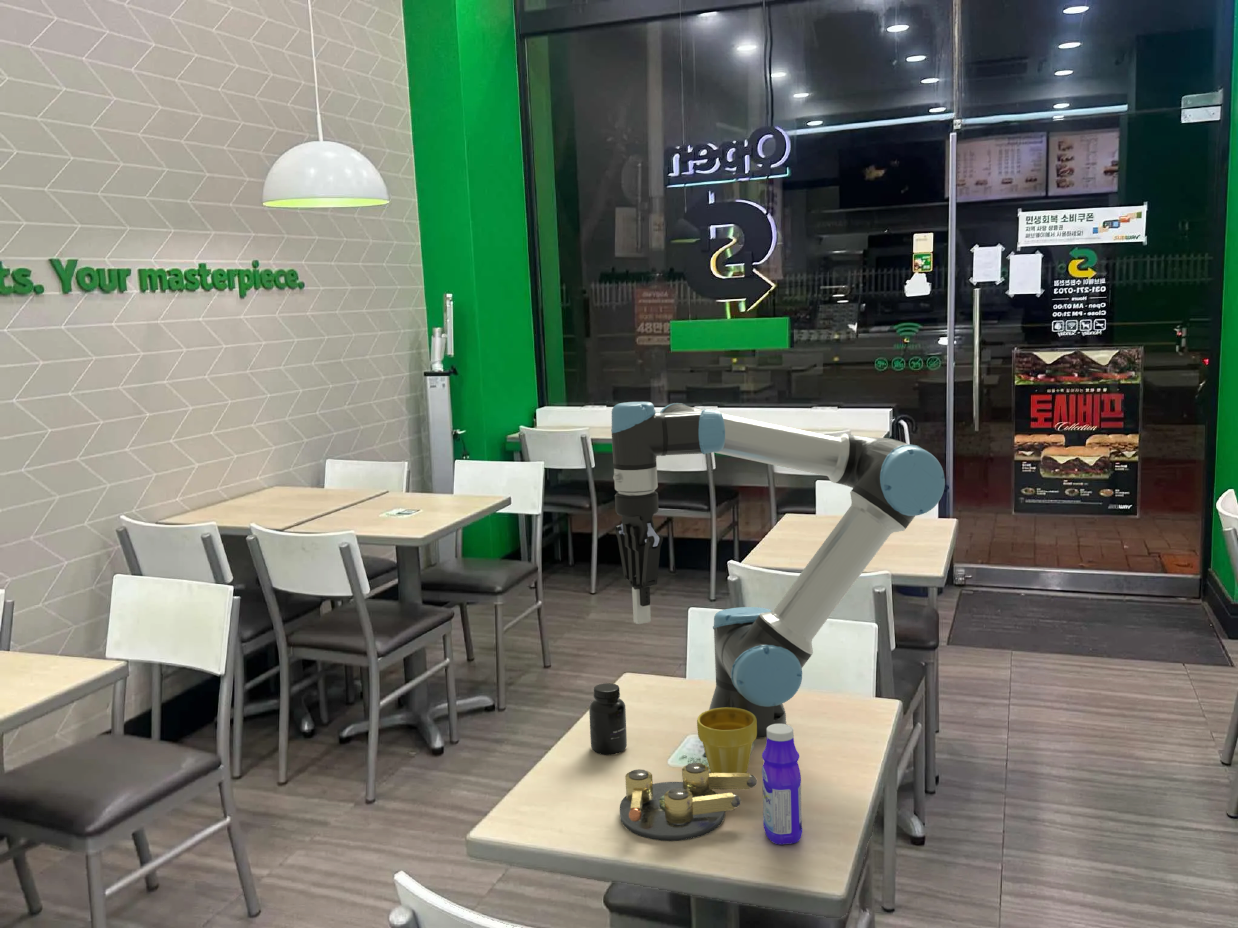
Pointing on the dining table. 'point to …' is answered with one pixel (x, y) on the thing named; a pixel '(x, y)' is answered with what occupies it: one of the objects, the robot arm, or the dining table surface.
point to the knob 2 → (695, 804)
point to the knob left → (713, 779)
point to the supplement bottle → (607, 720)
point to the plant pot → (727, 738)
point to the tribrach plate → (659, 827)
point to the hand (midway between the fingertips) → (642, 621)
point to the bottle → (781, 786)
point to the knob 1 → (638, 791)
